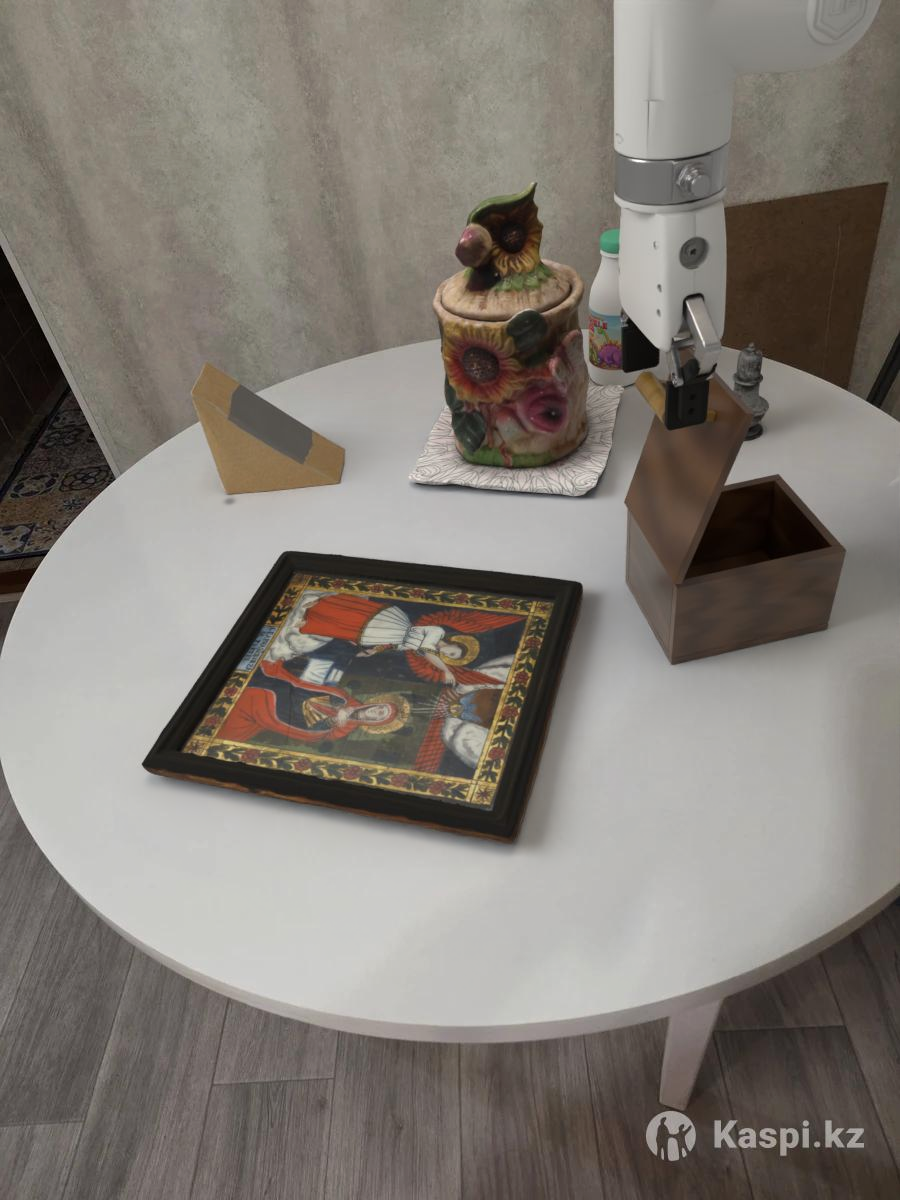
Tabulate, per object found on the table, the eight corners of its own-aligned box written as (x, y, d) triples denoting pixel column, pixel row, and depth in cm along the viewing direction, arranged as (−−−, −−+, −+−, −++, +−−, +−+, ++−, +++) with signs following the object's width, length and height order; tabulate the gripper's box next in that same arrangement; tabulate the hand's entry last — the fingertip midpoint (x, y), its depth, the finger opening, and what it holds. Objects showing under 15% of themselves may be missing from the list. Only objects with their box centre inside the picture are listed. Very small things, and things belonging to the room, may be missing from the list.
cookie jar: (455, 391, 126) (426, 156, 105) (625, 397, 120) (631, 146, 98) (404, 490, 109) (356, 232, 88) (599, 503, 103) (599, 228, 81)
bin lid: (688, 342, 75) (629, 337, 74) (755, 414, 65) (689, 409, 64) (630, 502, 85) (578, 500, 84) (681, 584, 76) (623, 583, 74)
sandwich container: (340, 484, 112) (314, 380, 102) (225, 495, 113) (188, 393, 103) (346, 448, 118) (322, 346, 108) (237, 459, 120) (204, 359, 110)
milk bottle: (619, 357, 128) (622, 218, 115) (654, 375, 123) (661, 233, 110) (578, 374, 126) (575, 235, 113) (611, 394, 121) (613, 250, 107)
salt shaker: (736, 447, 108) (747, 358, 100) (707, 426, 112) (716, 340, 104) (775, 432, 109) (789, 344, 101) (745, 412, 113) (756, 326, 105)
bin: (766, 549, 93) (778, 473, 87) (827, 629, 84) (846, 550, 77) (625, 581, 92) (627, 506, 85) (671, 665, 83) (677, 588, 76)
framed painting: (585, 570, 94) (585, 549, 92) (560, 858, 69) (559, 838, 67) (259, 563, 102) (252, 544, 100) (130, 819, 77) (117, 800, 75)
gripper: (783, 199, 53) (753, 439, 64) (674, 130, 65) (665, 341, 77) (665, 224, 52) (656, 461, 64) (578, 149, 65) (584, 358, 76)
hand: (661, 395), depth 70 cm, fingers open, 9 cm apart
